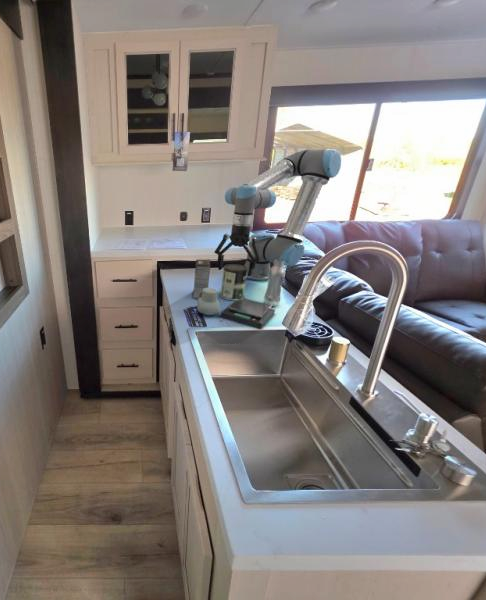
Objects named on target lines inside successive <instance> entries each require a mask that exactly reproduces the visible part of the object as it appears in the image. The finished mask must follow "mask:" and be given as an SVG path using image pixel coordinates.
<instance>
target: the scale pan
mask: <svg viewBox="0 0 486 600" xmlns="http://www.w3.org/2000/svg"><path fill="white" fill-rule="evenodd" d="M234 302H235V301H234ZM232 303H233V302H232ZM232 303H231V304H232ZM231 304H230V305H231ZM230 305H229V306H230ZM229 306H227V307H228V310H231V311H235V312H238V313H242V314H245V315H249V316H252V317H256V318H259V319H261V318H262V317H263V316H264V315H265V314H266V313H267V312H268V311H269V310H270V309H272V307H273V306H272V305H268V304H265V302H260V301H256V300H252V299H248V298H244V297H243V298H239V299H238V300H237V301H236V302H235V303H233V304H232V305H231V306H230V307H229Z"/></svg>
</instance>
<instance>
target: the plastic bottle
mask: <svg viewBox="0 0 486 600" xmlns="http://www.w3.org/2000/svg"><path fill="white" fill-rule="evenodd" d="M284 266H285V265H284V260H281V259H275V261H274V262H273V265H272V266H270V270H269V273H268V280H267V287H266V290H265V293H264V296H263V303H264V304H268V305H272V307H275V306H278V305H280V303H281V292H282V285H283V282H284V279H285V276H286V270H285V267H284Z"/></svg>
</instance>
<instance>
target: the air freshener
mask: <svg viewBox="0 0 486 600" xmlns="http://www.w3.org/2000/svg"><path fill="white" fill-rule="evenodd" d="M217 298H218V290H217V289H216V288H214V287H208V288H204V289H203V290H202V297H201V298H199V299H198V298H197V306H196V307H197V312H198V313H199V314H202V315H204V316H214V315H217V314H219V313H220V310H221V309H220V308H221V306H220V300H219V299H217Z"/></svg>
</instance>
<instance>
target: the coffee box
mask: <svg viewBox="0 0 486 600" xmlns="http://www.w3.org/2000/svg"><path fill="white" fill-rule="evenodd" d="M210 275H211V260H210V259H195V269H194V279H193V294H192V295H193V296H192V298H193V299H197V300H198V299H199V298H201V297H202V290H203V289H204V288H209V282H210Z"/></svg>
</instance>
